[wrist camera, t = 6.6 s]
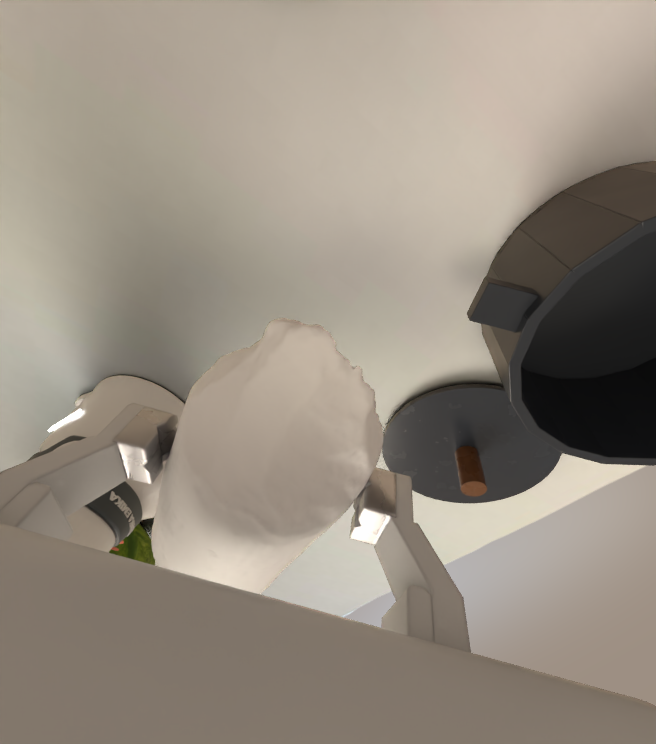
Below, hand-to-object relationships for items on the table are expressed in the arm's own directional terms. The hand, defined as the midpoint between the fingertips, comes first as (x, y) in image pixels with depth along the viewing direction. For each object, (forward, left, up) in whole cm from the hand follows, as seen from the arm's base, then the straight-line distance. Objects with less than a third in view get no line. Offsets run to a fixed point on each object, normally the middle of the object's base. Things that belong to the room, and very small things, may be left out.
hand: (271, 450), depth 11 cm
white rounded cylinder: (0, 0, -3) cm, 3 cm away
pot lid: (-16, -17, -20) cm, 31 cm away
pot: (+3, -19, -20) cm, 28 cm away
